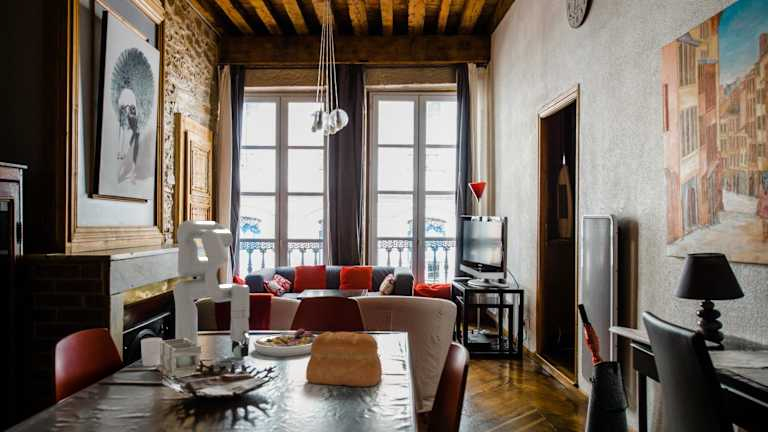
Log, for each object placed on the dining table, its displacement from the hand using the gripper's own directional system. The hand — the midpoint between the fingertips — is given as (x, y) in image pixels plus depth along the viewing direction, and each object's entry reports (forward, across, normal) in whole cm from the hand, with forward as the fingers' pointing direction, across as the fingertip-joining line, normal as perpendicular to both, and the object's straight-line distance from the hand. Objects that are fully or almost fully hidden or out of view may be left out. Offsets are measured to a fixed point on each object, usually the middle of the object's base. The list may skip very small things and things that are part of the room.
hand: (240, 354), depth 218 cm
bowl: (+2, -1, +23) cm, 23 cm away
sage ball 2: (-1, 0, 0) cm, 1 cm away
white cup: (+2, -14, -32) cm, 35 cm away
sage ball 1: (-3, +9, -26) cm, 28 cm away
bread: (+2, +55, +17) cm, 58 cm away
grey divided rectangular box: (+2, +4, -26) cm, 26 cm away
